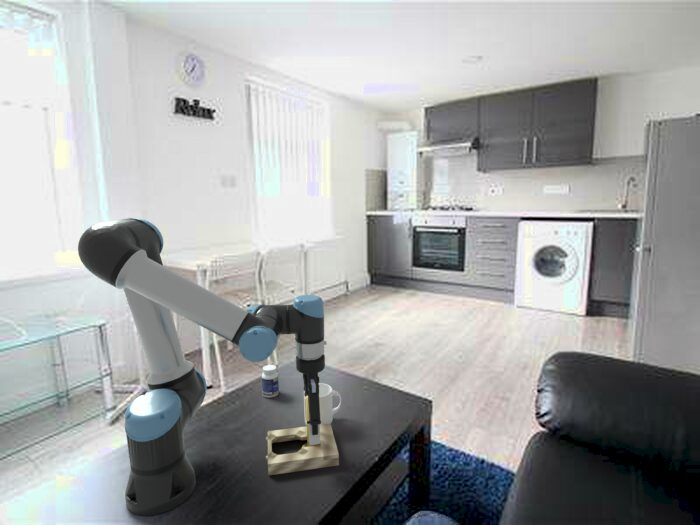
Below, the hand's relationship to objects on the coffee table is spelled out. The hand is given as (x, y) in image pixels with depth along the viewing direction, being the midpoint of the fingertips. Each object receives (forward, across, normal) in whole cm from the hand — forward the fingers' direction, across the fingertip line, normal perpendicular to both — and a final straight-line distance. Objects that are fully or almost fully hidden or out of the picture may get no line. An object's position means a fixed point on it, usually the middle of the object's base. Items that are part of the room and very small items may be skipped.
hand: (312, 430), depth 109 cm
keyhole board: (+6, 0, +3) cm, 7 cm away
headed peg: (+6, 0, 0) cm, 6 cm away
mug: (+6, +14, -5) cm, 16 cm away
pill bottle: (+6, +34, +11) cm, 36 cm away
